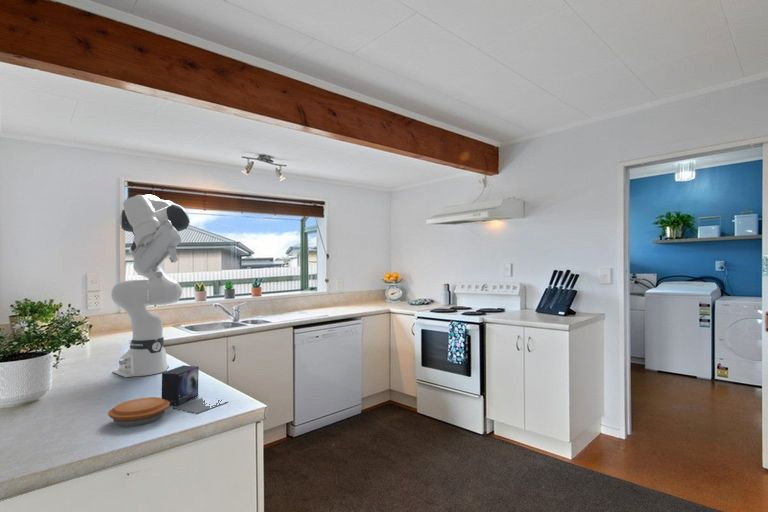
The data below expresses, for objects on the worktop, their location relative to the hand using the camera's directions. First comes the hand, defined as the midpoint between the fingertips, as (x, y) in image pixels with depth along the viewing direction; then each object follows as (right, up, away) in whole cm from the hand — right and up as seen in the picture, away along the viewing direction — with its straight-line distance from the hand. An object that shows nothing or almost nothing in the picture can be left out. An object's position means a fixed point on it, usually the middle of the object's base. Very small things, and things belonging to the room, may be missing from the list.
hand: (167, 269), depth 135 cm
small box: (+5, -44, -1) cm, 44 cm away
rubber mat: (+14, -43, -5) cm, 45 cm away
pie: (+1, -43, -17) cm, 46 cm away
